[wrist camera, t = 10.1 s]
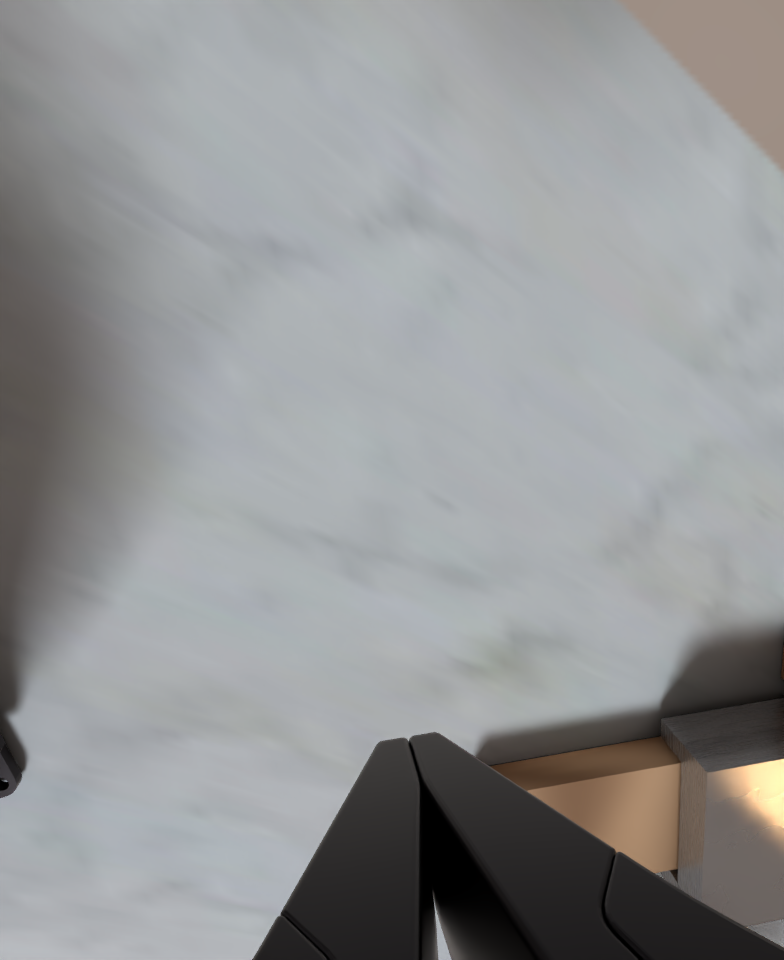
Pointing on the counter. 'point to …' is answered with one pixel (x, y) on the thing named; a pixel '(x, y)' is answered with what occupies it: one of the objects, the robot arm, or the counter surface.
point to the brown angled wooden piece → (614, 795)
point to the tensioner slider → (731, 809)
